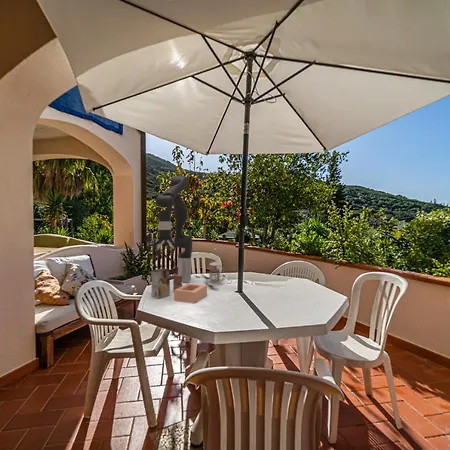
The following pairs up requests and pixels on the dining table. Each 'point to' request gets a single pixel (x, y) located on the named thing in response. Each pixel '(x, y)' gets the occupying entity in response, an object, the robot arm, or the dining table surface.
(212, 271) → the french press
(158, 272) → the coffee box
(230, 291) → the dining table surface
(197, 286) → the orange rectangular frame
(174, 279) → the walnut post
